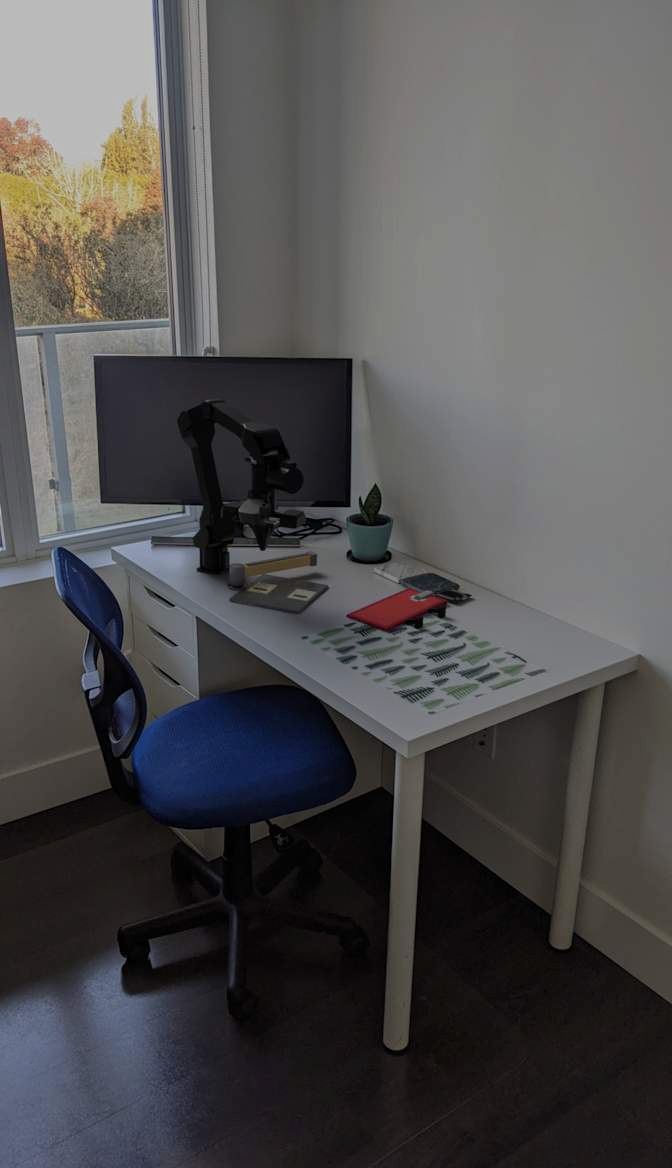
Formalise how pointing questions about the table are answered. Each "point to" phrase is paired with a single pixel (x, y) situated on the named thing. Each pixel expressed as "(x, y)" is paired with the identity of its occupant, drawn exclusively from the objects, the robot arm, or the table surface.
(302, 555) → the swing arm
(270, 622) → the table surface
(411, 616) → the red board with handle
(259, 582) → the panel
